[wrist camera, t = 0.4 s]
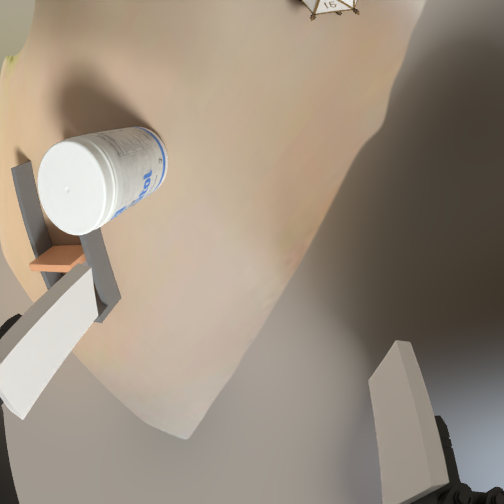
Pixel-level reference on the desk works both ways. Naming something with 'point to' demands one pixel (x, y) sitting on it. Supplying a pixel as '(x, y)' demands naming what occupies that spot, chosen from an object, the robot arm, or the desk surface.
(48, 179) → the supplement tub
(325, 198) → the desk surface
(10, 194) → the desk surface
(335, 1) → the game die
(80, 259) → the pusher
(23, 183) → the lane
